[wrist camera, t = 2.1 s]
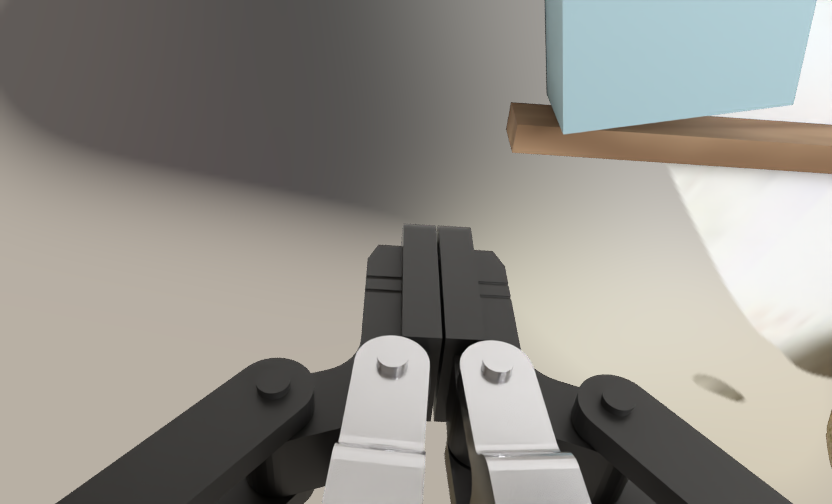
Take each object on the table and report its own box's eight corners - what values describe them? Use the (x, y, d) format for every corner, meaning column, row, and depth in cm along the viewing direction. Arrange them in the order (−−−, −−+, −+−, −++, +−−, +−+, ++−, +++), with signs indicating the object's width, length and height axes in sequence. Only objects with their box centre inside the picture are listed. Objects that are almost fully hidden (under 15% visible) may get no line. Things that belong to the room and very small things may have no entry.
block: (543, -32, 29) (562, -2, 26) (773, -66, 28) (825, -40, 25) (546, 93, 33) (563, 134, 29) (750, 66, 32) (793, 104, 28)
